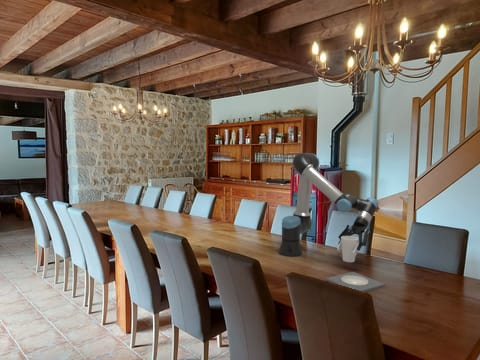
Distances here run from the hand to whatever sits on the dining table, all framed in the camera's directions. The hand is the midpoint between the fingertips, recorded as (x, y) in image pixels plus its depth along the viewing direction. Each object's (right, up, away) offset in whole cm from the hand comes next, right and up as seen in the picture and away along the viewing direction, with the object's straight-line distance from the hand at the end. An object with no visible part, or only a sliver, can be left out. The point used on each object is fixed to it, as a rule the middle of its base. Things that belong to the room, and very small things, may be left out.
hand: (345, 252), depth 193 cm
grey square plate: (-1, -12, -19) cm, 22 cm away
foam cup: (+2, -5, +3) cm, 6 cm away
